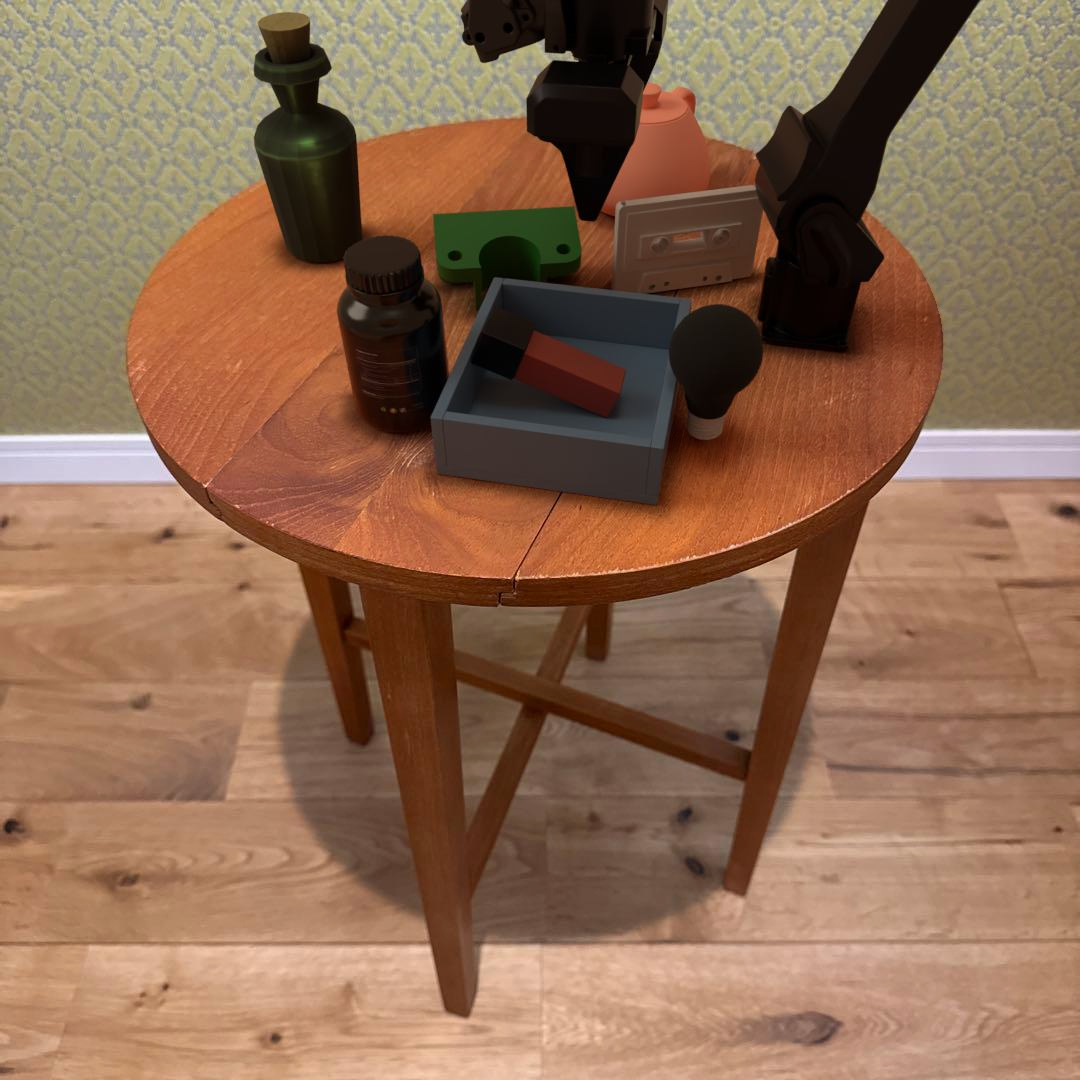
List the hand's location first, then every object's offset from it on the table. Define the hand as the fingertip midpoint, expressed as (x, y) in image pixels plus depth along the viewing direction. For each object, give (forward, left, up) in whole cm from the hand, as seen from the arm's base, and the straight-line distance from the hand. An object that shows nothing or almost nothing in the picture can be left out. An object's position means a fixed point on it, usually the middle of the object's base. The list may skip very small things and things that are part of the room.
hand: (598, 186), depth 66 cm
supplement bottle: (+12, +11, -12) cm, 20 cm away
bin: (0, +9, -12) cm, 15 cm away
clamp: (+8, -5, -12) cm, 15 cm away
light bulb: (-9, +11, -12) cm, 19 cm away
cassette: (-6, -9, -12) cm, 16 cm away
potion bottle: (+25, -9, -12) cm, 29 cm away
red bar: (+2, +9, -9) cm, 13 cm away
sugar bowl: (-1, -23, -12) cm, 26 cm away
